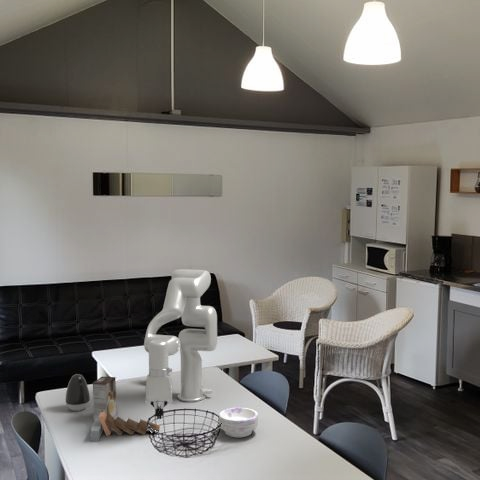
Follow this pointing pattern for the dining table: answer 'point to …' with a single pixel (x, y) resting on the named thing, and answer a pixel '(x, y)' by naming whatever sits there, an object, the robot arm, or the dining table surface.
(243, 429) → the white floral bowl
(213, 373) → the dining table surface
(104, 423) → the domino
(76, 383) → the dark grey egg shape
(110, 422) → the domino
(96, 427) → the end block
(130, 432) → the domino
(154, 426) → the domino
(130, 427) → the domino
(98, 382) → the coffee box
